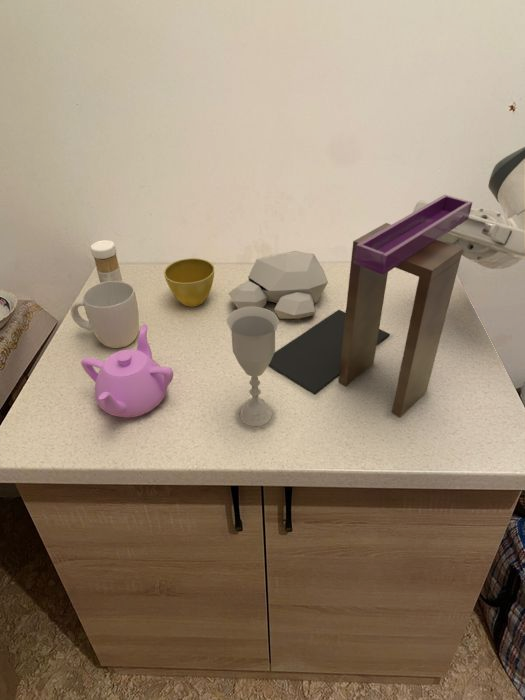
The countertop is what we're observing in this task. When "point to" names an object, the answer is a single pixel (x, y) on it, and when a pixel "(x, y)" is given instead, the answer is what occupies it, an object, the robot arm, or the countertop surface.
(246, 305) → the rock
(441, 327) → the walnut stand
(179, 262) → the mustard yellow bowl
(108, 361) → the teapot
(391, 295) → the countertop surface
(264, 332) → the chalice
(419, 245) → the plum dish
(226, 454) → the countertop surface
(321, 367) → the charcoal mat
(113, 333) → the mug
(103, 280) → the sprinkles bottle
